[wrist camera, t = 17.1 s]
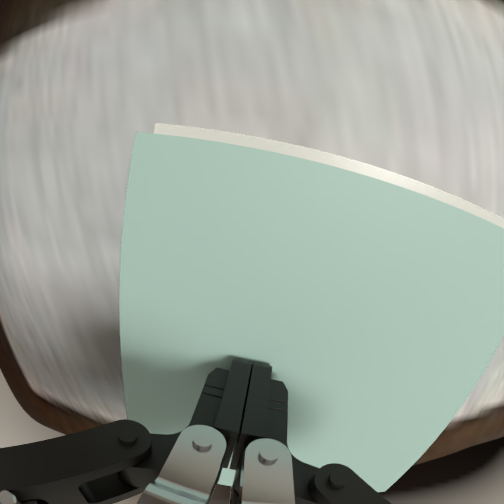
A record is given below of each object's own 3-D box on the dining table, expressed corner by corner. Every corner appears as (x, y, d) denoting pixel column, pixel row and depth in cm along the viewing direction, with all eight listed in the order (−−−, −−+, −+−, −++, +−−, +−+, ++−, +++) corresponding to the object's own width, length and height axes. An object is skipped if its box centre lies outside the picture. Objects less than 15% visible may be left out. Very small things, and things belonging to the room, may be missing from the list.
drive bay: (181, 132, 12) (155, 123, 10) (492, 218, 12) (525, 230, 9) (156, 419, 18) (141, 448, 15) (372, 454, 17) (379, 483, 14)
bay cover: (145, 134, 9) (135, 132, 8) (527, 241, 9) (537, 245, 8) (138, 450, 14) (134, 459, 13) (382, 483, 14) (384, 491, 13)
